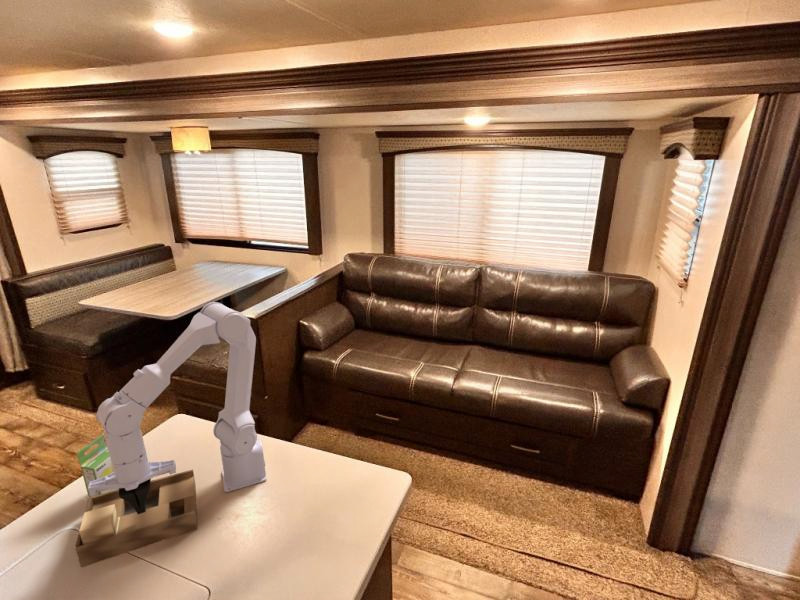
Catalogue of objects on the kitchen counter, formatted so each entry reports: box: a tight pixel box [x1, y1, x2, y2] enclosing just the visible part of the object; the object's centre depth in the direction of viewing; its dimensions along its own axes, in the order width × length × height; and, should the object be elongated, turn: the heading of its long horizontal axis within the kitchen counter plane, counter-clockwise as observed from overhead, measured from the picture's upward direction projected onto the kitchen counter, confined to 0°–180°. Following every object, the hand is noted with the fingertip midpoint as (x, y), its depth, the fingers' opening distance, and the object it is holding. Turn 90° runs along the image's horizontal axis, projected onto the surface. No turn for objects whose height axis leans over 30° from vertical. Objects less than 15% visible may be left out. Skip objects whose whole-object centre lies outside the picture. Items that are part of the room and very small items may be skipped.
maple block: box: [78, 504, 119, 545], centre depth 82 cm, size 5×5×4 cm
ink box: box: [76, 433, 119, 498], centre depth 95 cm, size 7×4×13 cm, turn 169°
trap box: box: [74, 469, 198, 568], centre depth 88 cm, size 20×14×5 cm
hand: (142, 509), depth 85 cm, fingers closed
